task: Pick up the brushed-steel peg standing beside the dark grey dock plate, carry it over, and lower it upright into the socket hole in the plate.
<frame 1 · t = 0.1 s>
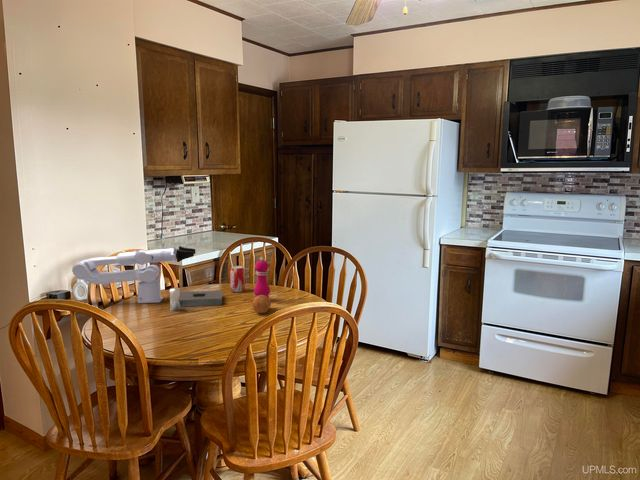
hand: (194, 252, 214), 22 cm above the table, tool horizontal, fingers open, 7 cm apart
steel peg: (175, 309, 201), on the table
dock plate: (199, 301, 213), on the table
pepper mill: (262, 300, 216), on the table
potato: (261, 311, 199), on the table
soda can: (237, 291, 233), on the table
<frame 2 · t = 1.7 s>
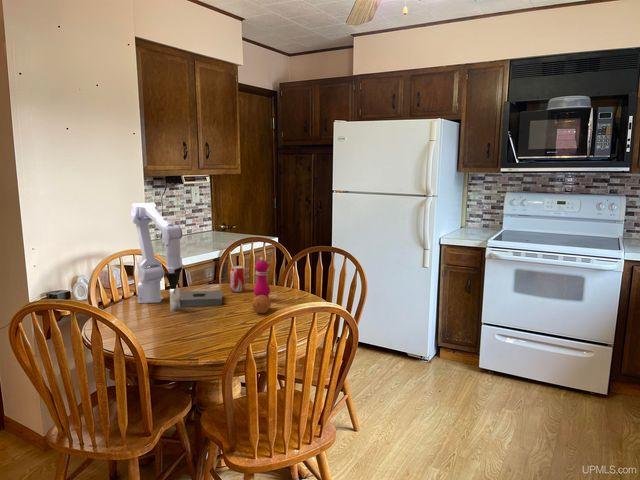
hand: (174, 286, 199), 10 cm above the table, tool pointing down, fingers open, 7 cm apart
nothing on the table moved.
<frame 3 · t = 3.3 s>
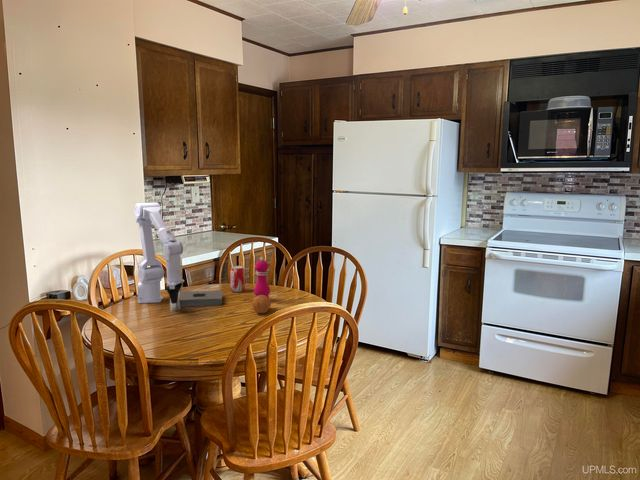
hand: (175, 301, 200), 3 cm above the table, tool pointing down, fingers closed on steel peg, 4 cm apart
steel peg: (175, 309, 201), on the table, touching gripper
everything else where it was.
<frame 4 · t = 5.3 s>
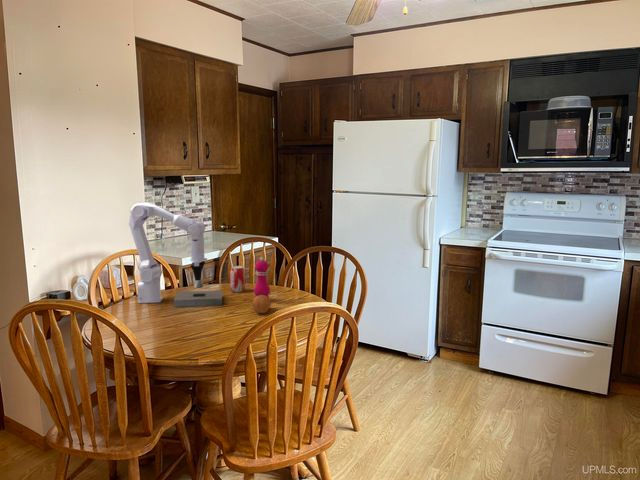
hand: (198, 279, 211), 10 cm above the table, tool pointing down, fingers closed on steel peg, 4 cm apart
steel peg: (198, 286, 212), point 7 cm above the table, touching gripper
everything else where it was.
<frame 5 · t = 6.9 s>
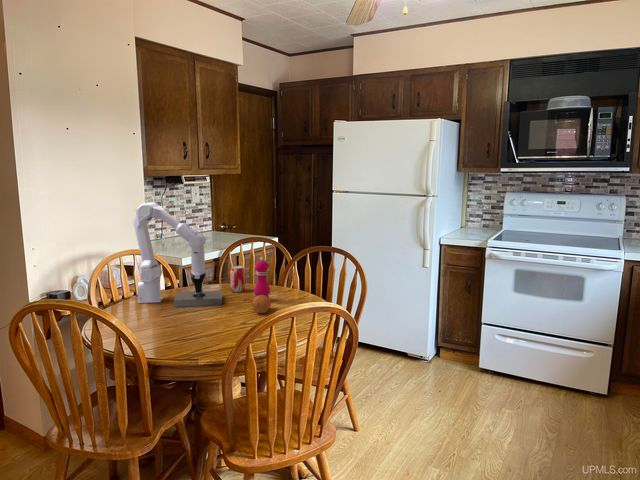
hand: (198, 291, 212), 5 cm above the table, tool pointing down, fingers closed on steel peg, 4 cm apart
steel peg: (198, 298, 213), point 1 cm above the table, touching gripper
everything else where it was.
when the fingers open (5 cm above the table, at t = 7.7 s): steel peg drops 1 cm, resting in dock plate.
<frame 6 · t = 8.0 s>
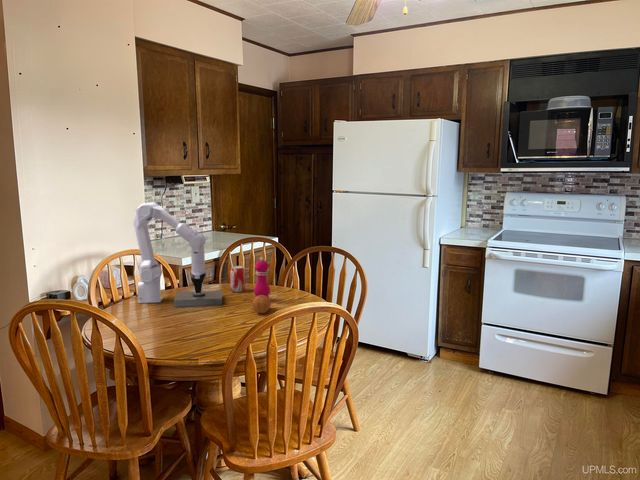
hand: (199, 291, 212), 5 cm above the table, tool pointing down, fingers open, 6 cm apart
steel peg: (199, 301, 213), resting in dock plate
everything else where it was.
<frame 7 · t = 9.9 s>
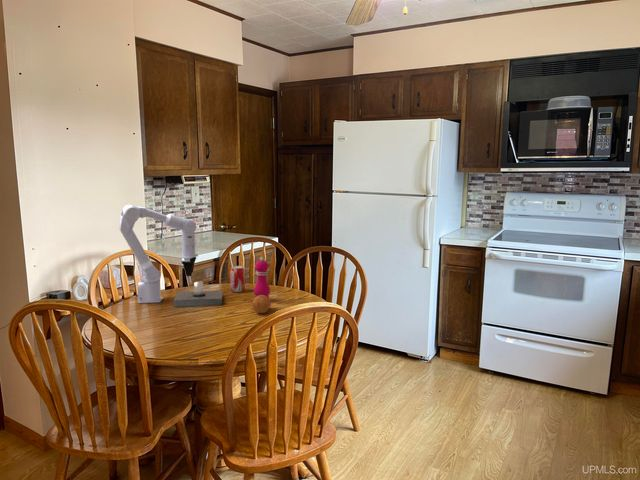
hand: (189, 274, 221), 10 cm above the table, tool pointing down, fingers open, 7 cm apart
nothing on the table moved.
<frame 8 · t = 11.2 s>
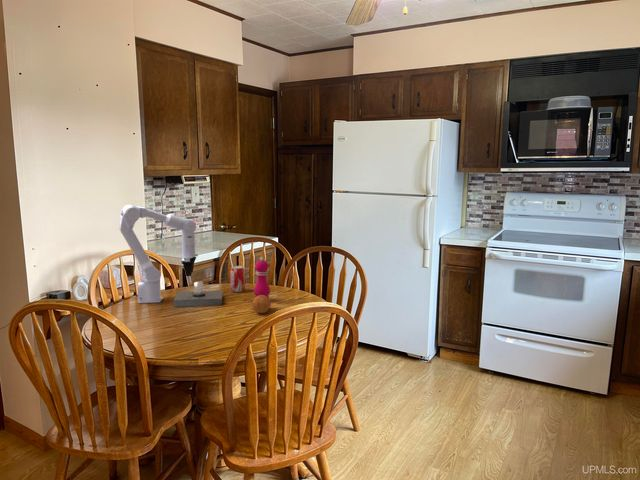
hand: (189, 274, 221), 10 cm above the table, tool pointing down, fingers open, 7 cm apart
nothing on the table moved.
at the end: steel peg 0.1 cm off-centre on the dock plate, point 0.0 cm above the dock plate's base; steel peg tilted 0°; the gripper is holding nothing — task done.
